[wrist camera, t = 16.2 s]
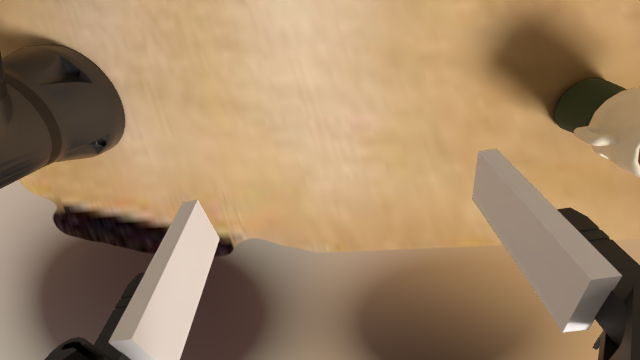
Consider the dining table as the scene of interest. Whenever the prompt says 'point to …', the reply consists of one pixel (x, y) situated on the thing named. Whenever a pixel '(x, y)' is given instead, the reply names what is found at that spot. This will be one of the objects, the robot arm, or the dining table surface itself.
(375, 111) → the dining table surface
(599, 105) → the character mug
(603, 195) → the dining table surface
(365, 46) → the dining table surface
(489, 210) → the robot arm
